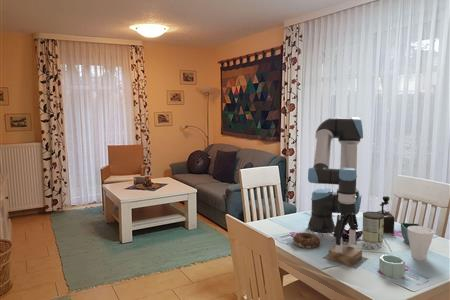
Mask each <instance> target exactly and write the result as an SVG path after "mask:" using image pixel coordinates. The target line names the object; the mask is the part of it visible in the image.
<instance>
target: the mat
mask: <svg viewBox="0 0 450 300" xmlns="http://www.w3.org/2000/svg"><path fill="white" fill-rule="evenodd" d="M322 259H324V260H326V261H330V262H333V263H336V264H339V265H342V266H345V267H349V268H351V269H355V270H357V268H359V267H360V266H362V265H363V264H364V263H365V262H367V261H368V260H369V258H368V257H365V256H362V258H361V259H360V260H359V261H357V262H356V263H355V264H354V265H352V266H350V265H347V264H344V263H341V262H338V261H335V260H332V259H329V253H327V254H326V255H325V256H323V257H322Z"/></svg>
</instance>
